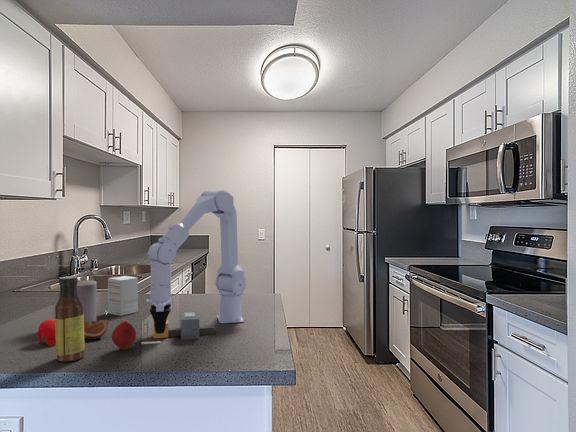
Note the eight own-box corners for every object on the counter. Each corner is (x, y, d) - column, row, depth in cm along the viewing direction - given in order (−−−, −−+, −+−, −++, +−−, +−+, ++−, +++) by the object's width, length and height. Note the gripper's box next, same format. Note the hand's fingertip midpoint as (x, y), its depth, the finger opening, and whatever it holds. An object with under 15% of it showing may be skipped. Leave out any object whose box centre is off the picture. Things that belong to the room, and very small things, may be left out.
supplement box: (124, 309, 156) (125, 275, 156) (138, 312, 152) (138, 277, 152) (107, 313, 150) (107, 277, 150) (120, 316, 146) (121, 279, 146)
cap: (31, 329, 116) (32, 322, 112) (54, 319, 120) (55, 312, 116) (44, 354, 115) (45, 348, 110) (67, 343, 118) (69, 336, 114)
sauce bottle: (88, 354, 106) (89, 275, 106) (77, 363, 100) (78, 279, 100) (62, 354, 106) (63, 275, 106) (49, 363, 100) (50, 278, 100)
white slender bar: (141, 343, 116) (141, 342, 116) (160, 342, 117) (160, 340, 117) (141, 344, 115) (141, 343, 115) (160, 343, 116) (160, 341, 116)
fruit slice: (77, 343, 115) (77, 325, 115) (73, 337, 120) (73, 320, 120) (109, 339, 119) (110, 321, 119) (104, 333, 125) (104, 316, 125)
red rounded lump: (128, 345, 114) (128, 315, 114) (140, 349, 110) (140, 319, 110) (107, 350, 109) (108, 319, 109) (119, 355, 106) (119, 323, 106)
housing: (180, 330, 129) (180, 310, 129) (197, 329, 131) (197, 310, 131) (181, 340, 119) (181, 319, 119) (199, 338, 120) (199, 318, 120)
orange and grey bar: (214, 331, 129) (214, 318, 129) (215, 334, 125) (215, 320, 125) (154, 334, 124) (154, 321, 124) (153, 338, 121) (153, 324, 121)
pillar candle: (64, 323, 136) (64, 276, 135) (97, 320, 139) (98, 275, 139) (59, 331, 126) (60, 281, 126) (95, 328, 130) (95, 280, 130)
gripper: (147, 280, 129) (147, 325, 129) (144, 289, 115) (144, 339, 115) (171, 280, 131) (171, 324, 131) (171, 288, 117) (171, 337, 117)
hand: (160, 331), depth 123 cm, fingers closed on orange and grey bar, 4 cm apart
